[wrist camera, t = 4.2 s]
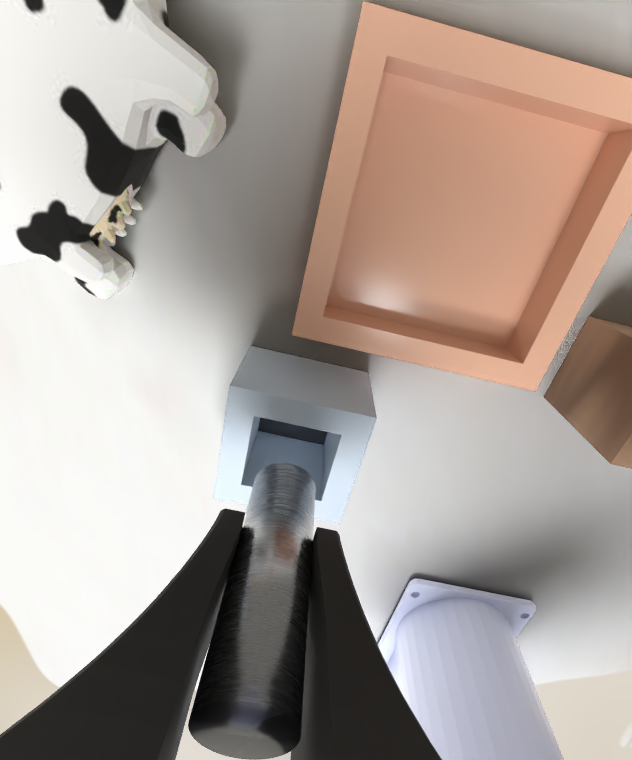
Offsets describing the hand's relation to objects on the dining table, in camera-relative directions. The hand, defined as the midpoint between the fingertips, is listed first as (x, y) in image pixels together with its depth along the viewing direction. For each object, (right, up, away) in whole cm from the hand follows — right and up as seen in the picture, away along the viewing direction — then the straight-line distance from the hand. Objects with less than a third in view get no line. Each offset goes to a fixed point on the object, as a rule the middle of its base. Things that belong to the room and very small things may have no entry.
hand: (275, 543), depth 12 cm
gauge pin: (0, +1, +2) cm, 2 cm away
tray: (+6, +11, +3) cm, 13 cm away
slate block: (0, +3, +7) cm, 8 cm away
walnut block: (+14, +5, +6) cm, 16 cm away
